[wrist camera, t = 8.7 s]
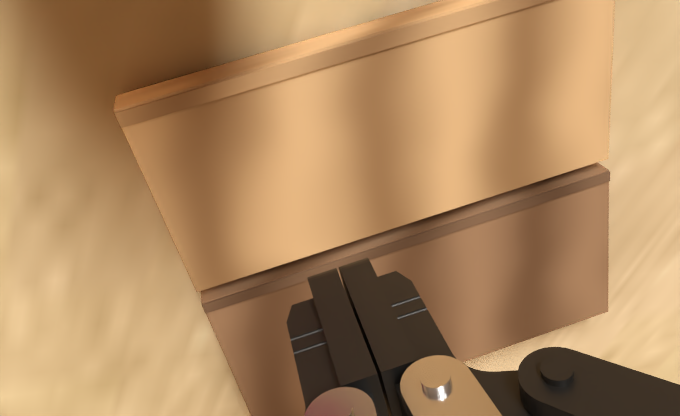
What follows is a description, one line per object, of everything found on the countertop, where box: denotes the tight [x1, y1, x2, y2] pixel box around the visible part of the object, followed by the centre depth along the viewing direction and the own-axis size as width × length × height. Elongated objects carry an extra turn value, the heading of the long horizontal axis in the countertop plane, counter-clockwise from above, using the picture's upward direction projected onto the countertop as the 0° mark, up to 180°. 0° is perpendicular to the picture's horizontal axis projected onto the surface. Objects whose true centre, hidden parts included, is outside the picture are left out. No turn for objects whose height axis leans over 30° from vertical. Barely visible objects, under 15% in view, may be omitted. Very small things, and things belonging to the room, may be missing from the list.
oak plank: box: [113, 0, 615, 292], centre depth 26 cm, size 20×9×2 cm, turn 103°
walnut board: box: [201, 163, 610, 416], centre depth 31 cm, size 20×9×2 cm, turn 103°
